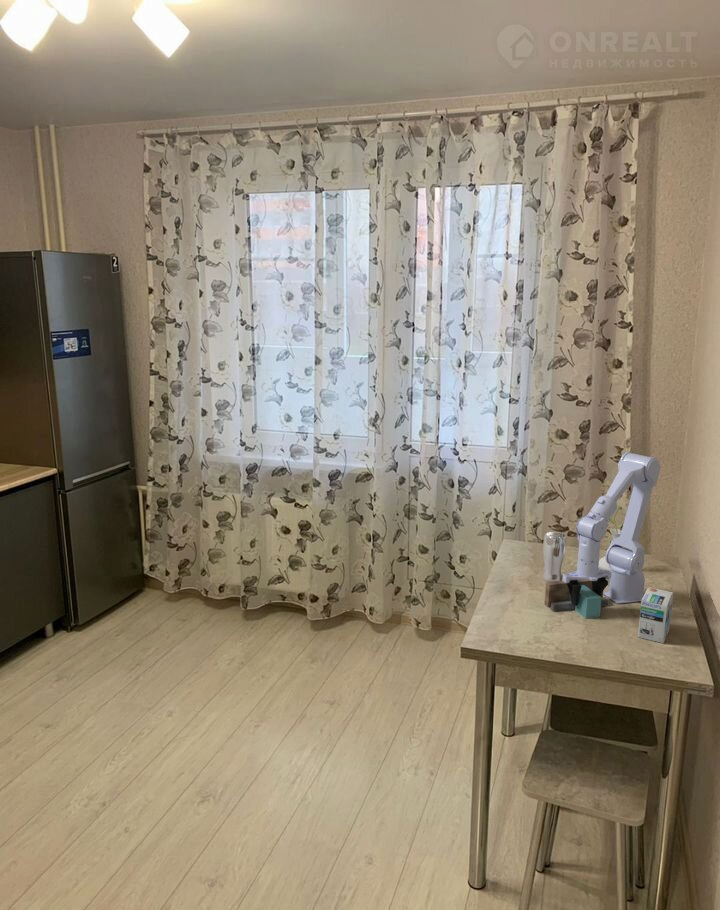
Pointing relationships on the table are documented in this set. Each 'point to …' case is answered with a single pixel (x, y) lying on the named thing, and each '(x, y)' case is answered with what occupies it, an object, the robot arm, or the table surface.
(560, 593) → the brown wooden ledge block
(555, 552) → the beer glass
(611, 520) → the flower in vase
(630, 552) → the robot arm
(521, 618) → the table surface
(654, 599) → the light bulb box
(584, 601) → the teal rectangular block
